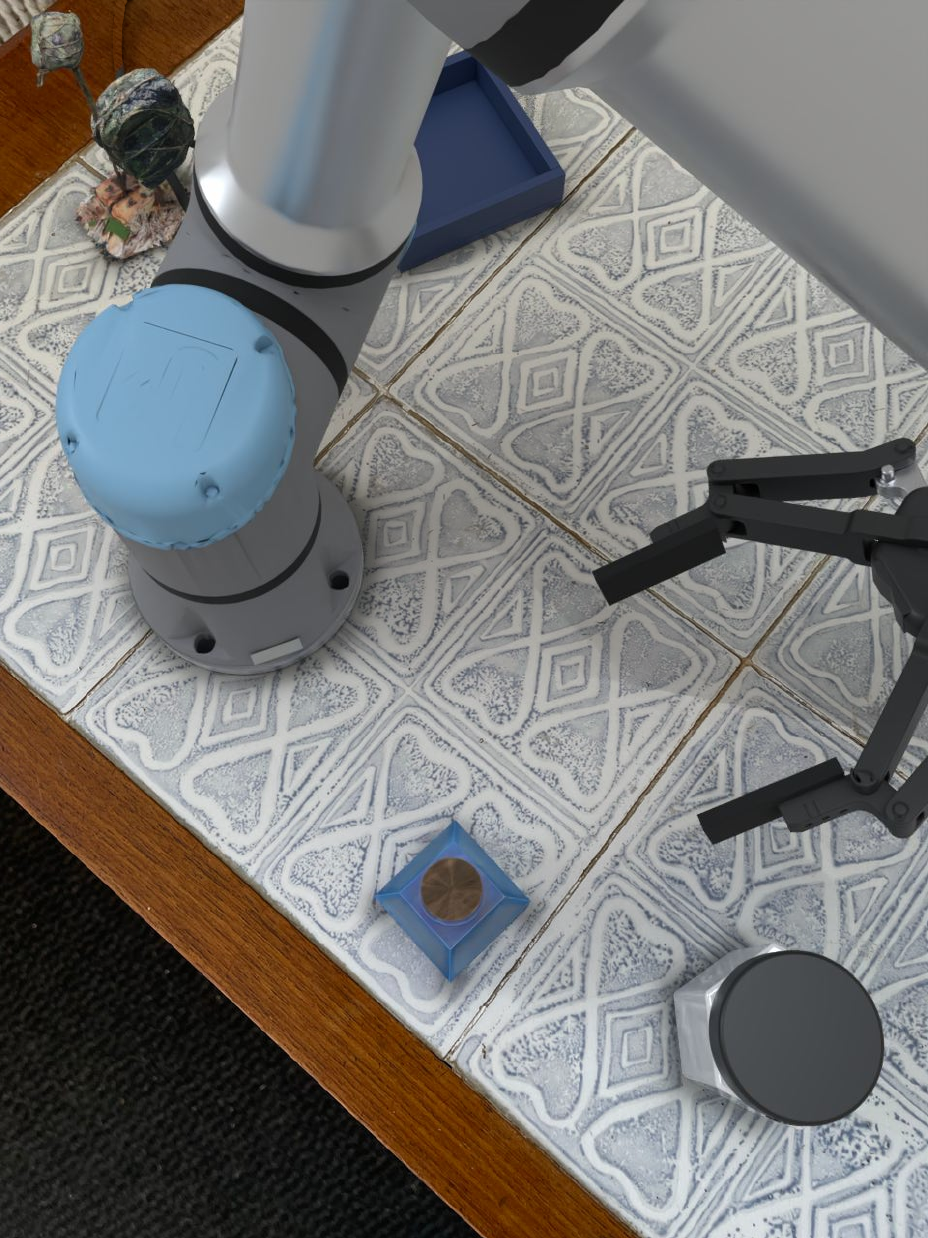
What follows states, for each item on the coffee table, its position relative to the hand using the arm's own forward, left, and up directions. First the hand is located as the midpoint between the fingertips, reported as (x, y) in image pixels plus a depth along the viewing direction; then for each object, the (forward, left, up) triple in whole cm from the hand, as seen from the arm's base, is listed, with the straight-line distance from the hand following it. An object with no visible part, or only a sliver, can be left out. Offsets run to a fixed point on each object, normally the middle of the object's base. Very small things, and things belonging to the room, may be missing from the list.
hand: (648, 702), depth 54 cm
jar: (+17, 0, -18) cm, 25 cm away
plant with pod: (-53, -9, -18) cm, 57 cm away
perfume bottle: (+3, -12, -18) cm, 22 cm away
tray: (-46, +12, -18) cm, 51 cm away
